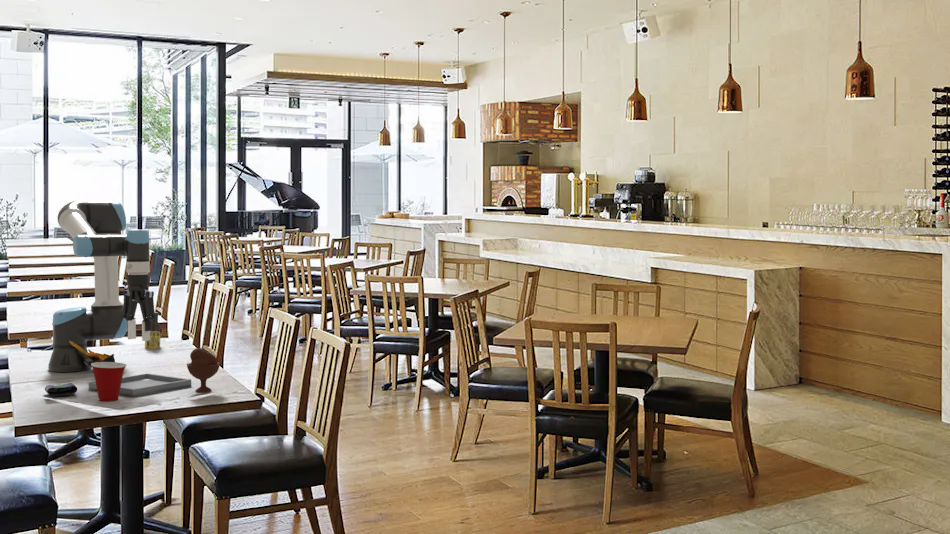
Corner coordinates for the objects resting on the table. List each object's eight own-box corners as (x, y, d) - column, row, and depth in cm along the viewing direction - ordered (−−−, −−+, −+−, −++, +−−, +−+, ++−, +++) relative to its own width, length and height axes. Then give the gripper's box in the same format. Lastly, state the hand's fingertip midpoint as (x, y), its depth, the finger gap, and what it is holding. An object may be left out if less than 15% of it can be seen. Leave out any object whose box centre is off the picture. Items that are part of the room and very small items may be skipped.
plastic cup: (126, 401, 285) (126, 364, 284) (90, 403, 281) (89, 366, 281) (127, 395, 295) (127, 360, 295) (92, 397, 292) (92, 361, 291)
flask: (46, 388, 290) (43, 384, 299) (47, 397, 290) (44, 393, 299) (77, 385, 294) (73, 382, 304) (78, 393, 294) (74, 390, 304)
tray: (88, 389, 305) (88, 382, 305) (147, 380, 326) (147, 373, 326) (132, 397, 293) (132, 389, 292) (191, 386, 313) (191, 379, 313)
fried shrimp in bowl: (124, 365, 335) (99, 324, 333) (98, 380, 328) (72, 338, 326) (116, 368, 342) (92, 328, 340) (91, 383, 335) (65, 342, 333)
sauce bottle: (145, 359, 377) (145, 313, 376) (143, 357, 382) (143, 312, 381) (161, 358, 380) (161, 312, 379) (159, 356, 385) (159, 311, 384)
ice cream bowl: (202, 395, 296) (202, 350, 296) (180, 392, 302) (179, 348, 301) (226, 390, 305) (226, 347, 305) (204, 387, 311) (204, 345, 310)
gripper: (110, 273, 310) (111, 338, 310) (147, 275, 299) (148, 342, 300) (129, 272, 316) (130, 336, 317) (165, 274, 305) (166, 340, 306)
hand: (139, 339), depth 308 cm, fingers open, 7 cm apart
